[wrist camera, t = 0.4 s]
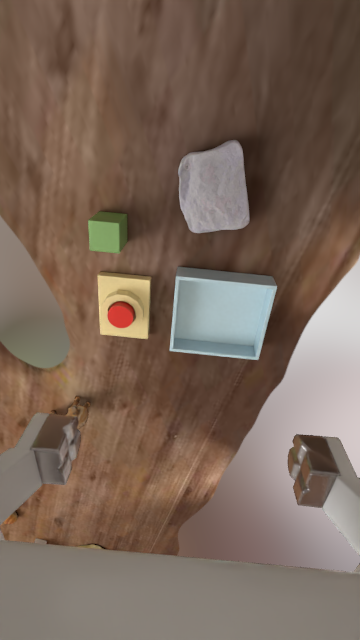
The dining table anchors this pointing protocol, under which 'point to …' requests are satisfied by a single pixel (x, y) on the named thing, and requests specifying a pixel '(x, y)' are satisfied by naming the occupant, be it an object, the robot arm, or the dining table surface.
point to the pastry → (11, 519)
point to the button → (121, 314)
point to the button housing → (129, 291)
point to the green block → (107, 232)
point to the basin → (221, 312)
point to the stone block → (214, 189)
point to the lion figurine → (78, 411)
